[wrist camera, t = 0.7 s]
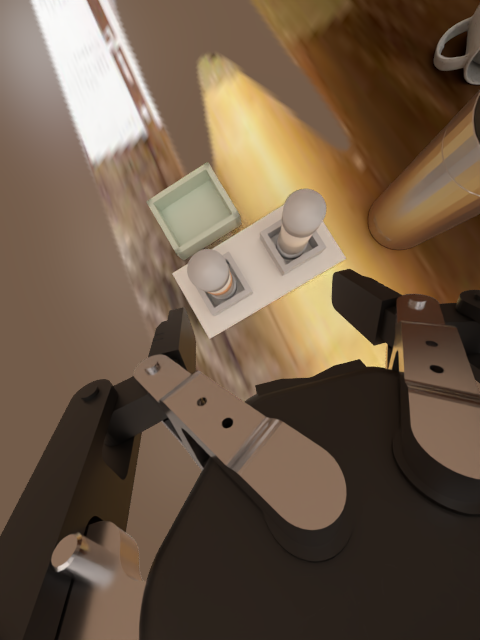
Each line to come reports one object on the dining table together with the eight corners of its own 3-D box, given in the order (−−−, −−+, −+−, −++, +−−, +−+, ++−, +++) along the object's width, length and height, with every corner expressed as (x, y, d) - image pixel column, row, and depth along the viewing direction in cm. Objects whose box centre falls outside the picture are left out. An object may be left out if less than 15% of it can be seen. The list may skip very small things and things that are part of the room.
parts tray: (212, 175, 37) (207, 161, 34) (241, 224, 36) (240, 215, 33) (155, 211, 38) (146, 201, 35) (183, 260, 37) (176, 254, 34)
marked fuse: (228, 266, 36) (214, 241, 25) (242, 290, 35) (234, 276, 24) (204, 281, 36) (179, 262, 25) (218, 305, 36) (199, 297, 25)
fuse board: (303, 195, 36) (307, 181, 32) (343, 260, 35) (353, 253, 32) (174, 274, 37) (165, 269, 34) (210, 338, 37) (205, 339, 33)
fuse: (295, 225, 35) (312, 180, 24) (310, 250, 34) (334, 215, 24) (270, 241, 35) (275, 203, 24) (285, 265, 35) (297, 238, 24)
